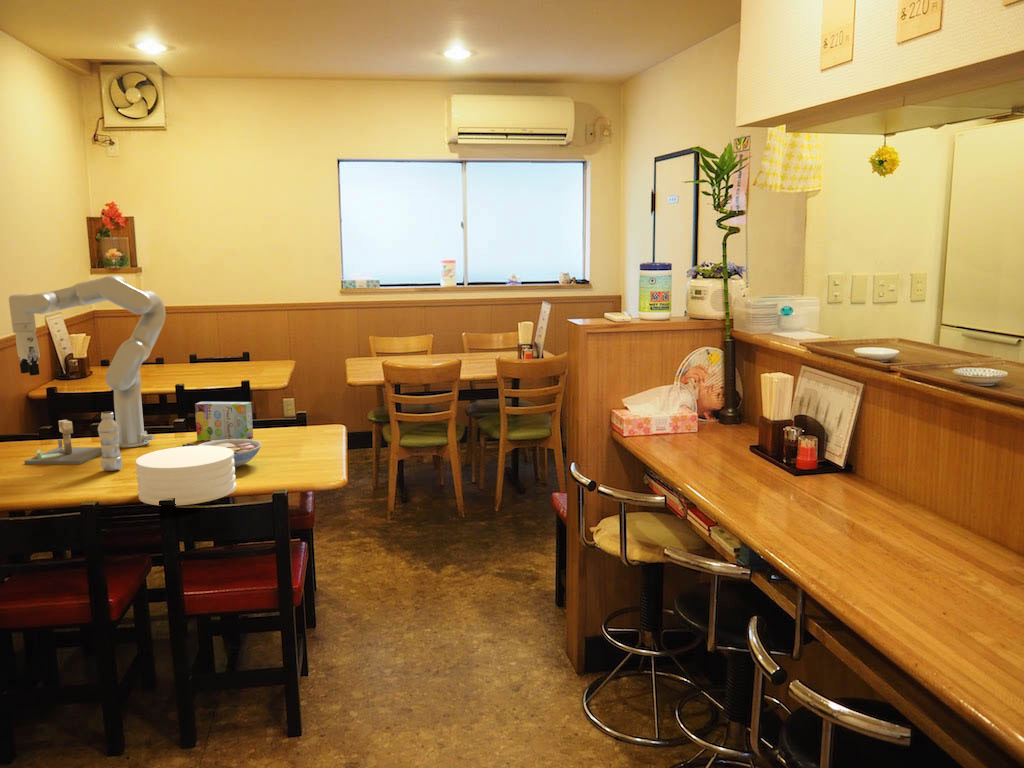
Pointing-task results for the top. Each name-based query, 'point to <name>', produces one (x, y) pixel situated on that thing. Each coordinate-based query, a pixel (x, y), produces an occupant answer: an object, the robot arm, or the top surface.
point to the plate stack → (186, 474)
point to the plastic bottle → (109, 443)
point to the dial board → (65, 456)
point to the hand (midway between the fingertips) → (30, 373)
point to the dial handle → (65, 436)
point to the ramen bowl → (237, 448)
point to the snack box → (223, 420)
